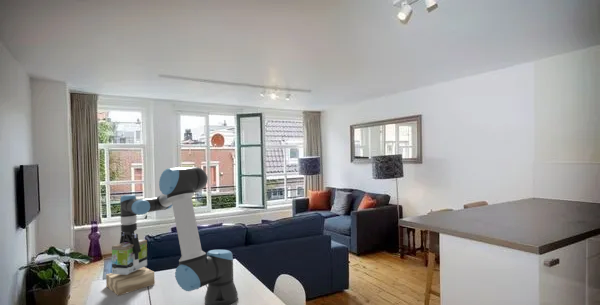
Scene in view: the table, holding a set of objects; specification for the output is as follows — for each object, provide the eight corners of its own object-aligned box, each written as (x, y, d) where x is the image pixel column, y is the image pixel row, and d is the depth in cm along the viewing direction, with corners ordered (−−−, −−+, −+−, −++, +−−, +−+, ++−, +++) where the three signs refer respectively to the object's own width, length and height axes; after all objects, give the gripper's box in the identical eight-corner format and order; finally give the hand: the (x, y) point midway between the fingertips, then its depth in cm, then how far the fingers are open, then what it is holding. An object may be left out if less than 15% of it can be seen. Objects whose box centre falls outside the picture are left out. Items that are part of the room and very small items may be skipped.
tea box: (128, 275, 164) (127, 246, 165) (111, 274, 167) (110, 246, 167) (147, 265, 179) (147, 239, 179) (132, 264, 181) (131, 238, 181)
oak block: (154, 284, 173) (154, 271, 173) (118, 296, 160) (118, 282, 160) (141, 277, 185) (140, 265, 185) (106, 287, 172) (106, 274, 172)
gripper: (147, 224, 169) (148, 265, 169) (125, 220, 183) (126, 257, 183) (132, 227, 163) (134, 269, 163) (111, 222, 177) (112, 261, 177)
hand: (130, 263), depth 173 cm, fingers closed on tea box, 12 cm apart
